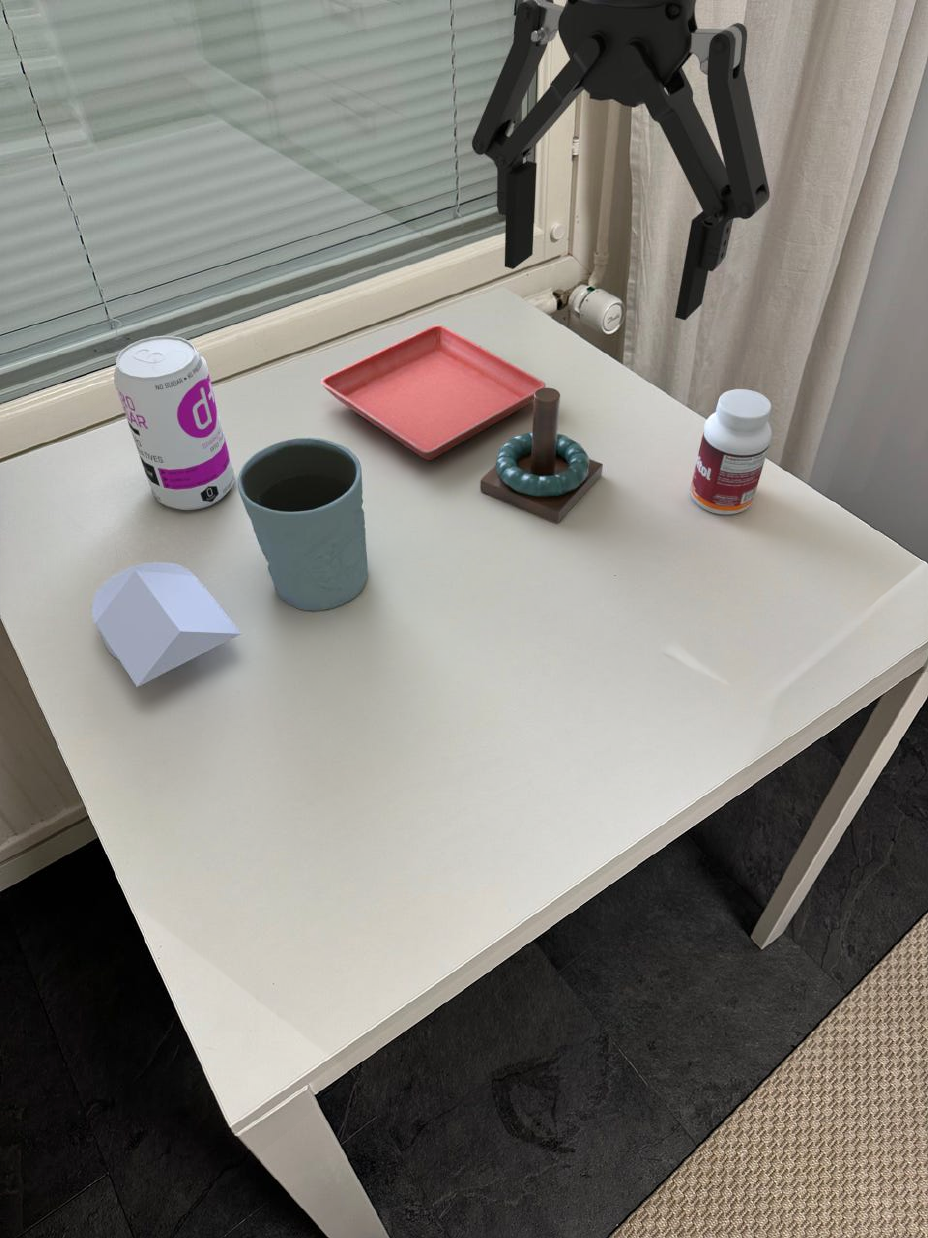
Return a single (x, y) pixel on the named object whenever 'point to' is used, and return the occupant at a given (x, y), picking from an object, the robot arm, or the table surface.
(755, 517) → the table surface
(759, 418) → the pill bottle
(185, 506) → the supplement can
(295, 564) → the blue-grey embossed cup
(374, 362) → the plant saucer
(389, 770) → the table surface
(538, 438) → the stand
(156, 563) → the wedge on round base
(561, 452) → the teal beaded ring
